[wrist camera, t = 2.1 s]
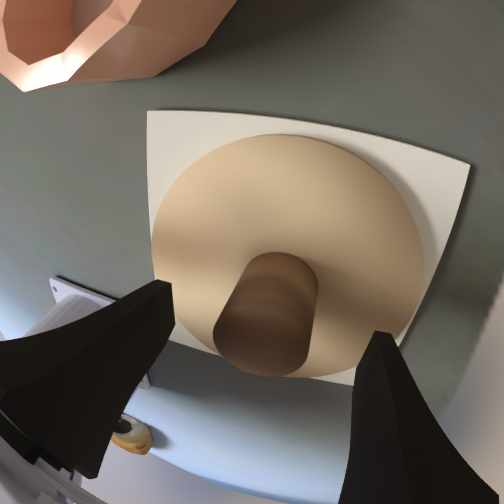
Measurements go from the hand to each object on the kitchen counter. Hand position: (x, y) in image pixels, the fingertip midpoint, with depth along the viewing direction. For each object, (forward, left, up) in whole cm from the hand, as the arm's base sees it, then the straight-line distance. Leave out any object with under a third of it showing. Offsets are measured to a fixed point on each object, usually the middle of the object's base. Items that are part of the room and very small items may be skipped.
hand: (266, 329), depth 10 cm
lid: (0, 0, -4) cm, 4 cm away
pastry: (-28, +15, -5) cm, 32 cm away
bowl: (+13, +8, -4) cm, 16 cm away
